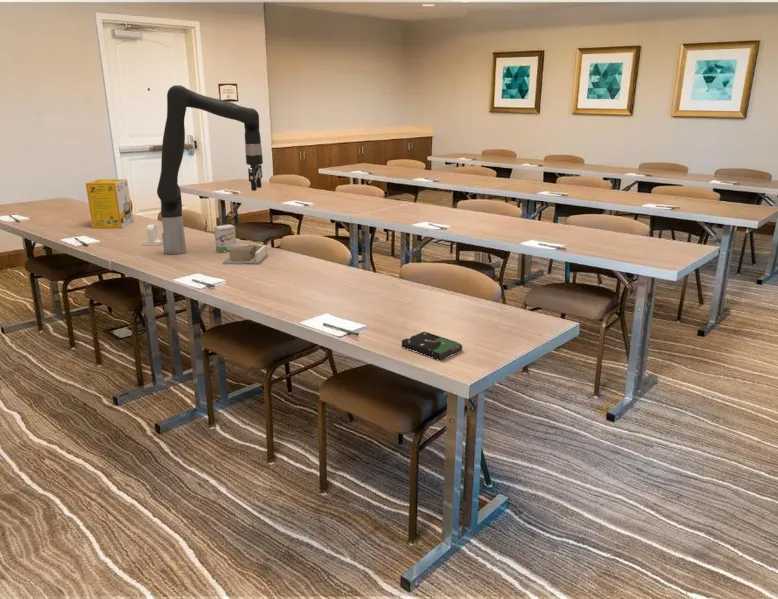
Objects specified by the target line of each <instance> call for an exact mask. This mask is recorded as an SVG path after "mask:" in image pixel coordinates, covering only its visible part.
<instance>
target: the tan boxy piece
mask: <svg viewBox="0 0 778 599" xmlns="http://www.w3.org/2000/svg"><path fill="white" fill-rule="evenodd" d="M247 245H248V246H246V247H245V248H232V249H230V251H229V257H230V261H252V260H253V259H254V258H255V253H256V252H257V251H256V245H257V244H247Z"/></svg>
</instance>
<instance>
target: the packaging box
mask: <svg viewBox="0 0 778 599" xmlns="http://www.w3.org/2000/svg"><path fill="white" fill-rule="evenodd" d="M85 190H86V197H87V200H88V208H89V213H90V220H91V226H92V229H123V228H125V227H127V226H129V225H131V224H132V223H134V219H133V218H134V217H133V212H132V211H133V210H132V205H131V204H132V202H131V198H130V197H131V196H130V190H129V182H128V178H116V179H114V178H112V179H110V178H108V179H105V178H104V179H102V178H101V179H100V178H99V179H95V180H93V181H90V182H86V183H85ZM128 224H129V225H128ZM126 225H127V226H126ZM124 226H125V227H124ZM122 227H123V228H122Z"/></svg>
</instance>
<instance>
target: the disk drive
mask: <svg viewBox="0 0 778 599" xmlns="http://www.w3.org/2000/svg"><path fill="white" fill-rule="evenodd" d="M402 347H405V348H408V349H411V350H414V351H417V352H419V353H422V354H425V355H427V356H430V357H433V358H435V359H434V360H436V359H438V360H442V359H444V358H446V357H448V356H450V355H452V354H454V355H456V354H458V353H457V352H459V351H461V350H462V351H463V345H462V344H461V343H460V342H457V341H455V340H451V339H449V338H445V337H442V336H440V335H436V334H433V333H430V332H427V331H422V332H420V333H417V334H414V335H412V336H410V338H405V339H402V340H401V348H402ZM405 348H404V349H405ZM411 350H410V351H411ZM462 351H461V352H462ZM419 353H418V354H419ZM455 353H456V354H455ZM459 353H460V352H459ZM422 354H421V355H422ZM427 356H426V357H427ZM452 356H453V355H452ZM430 357H429V358H430ZM450 357H451V356H450ZM433 358H432V359H433ZM448 358H449V357H448ZM446 359H447V358H446ZM438 360H437V361H438ZM444 360H445V359H444ZM442 361H443V360H442Z"/></svg>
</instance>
